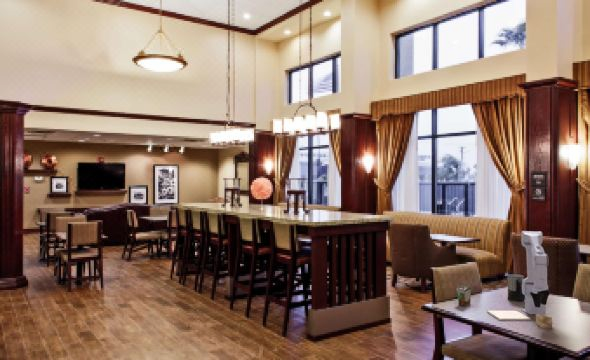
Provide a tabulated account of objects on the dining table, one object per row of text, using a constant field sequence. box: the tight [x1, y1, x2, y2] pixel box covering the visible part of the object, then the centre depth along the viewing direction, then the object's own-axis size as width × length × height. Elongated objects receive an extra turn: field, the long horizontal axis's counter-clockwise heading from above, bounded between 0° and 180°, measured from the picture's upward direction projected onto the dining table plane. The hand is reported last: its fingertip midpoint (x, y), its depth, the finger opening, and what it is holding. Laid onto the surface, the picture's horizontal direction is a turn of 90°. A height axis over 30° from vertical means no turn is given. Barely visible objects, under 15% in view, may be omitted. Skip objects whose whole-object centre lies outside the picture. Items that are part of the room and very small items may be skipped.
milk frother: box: [506, 273, 525, 303], centre depth 258 cm, size 14×16×15 cm
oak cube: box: [535, 313, 553, 328], centre depth 212 cm, size 5×5×5 cm
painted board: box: [486, 310, 532, 322], centre depth 227 cm, size 16×14×1 cm
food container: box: [456, 285, 472, 308], centre depth 250 cm, size 12×6×10 cm, turn 141°
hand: (540, 305), depth 213 cm, fingers open, 7 cm apart
